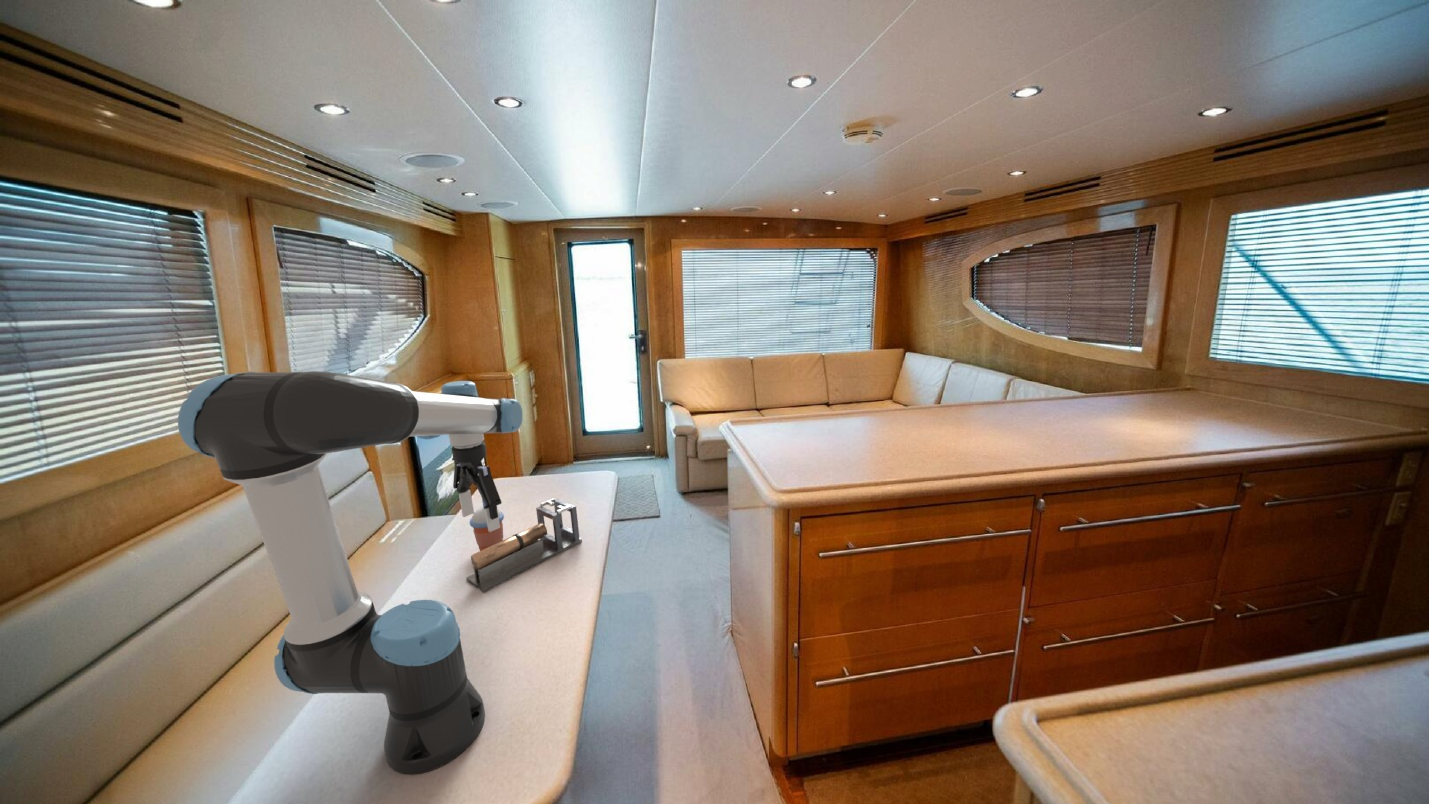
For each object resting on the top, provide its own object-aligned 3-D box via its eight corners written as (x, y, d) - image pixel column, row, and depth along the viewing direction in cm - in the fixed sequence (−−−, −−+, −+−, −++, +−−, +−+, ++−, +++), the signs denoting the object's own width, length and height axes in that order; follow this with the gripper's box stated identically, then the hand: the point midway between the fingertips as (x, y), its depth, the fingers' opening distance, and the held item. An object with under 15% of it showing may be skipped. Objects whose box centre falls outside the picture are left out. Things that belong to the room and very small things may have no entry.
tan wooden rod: (480, 572, 124) (477, 557, 123) (472, 566, 127) (469, 552, 126) (548, 538, 140) (546, 524, 138) (539, 533, 142) (537, 520, 141)
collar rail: (483, 592, 123) (476, 547, 120) (466, 580, 129) (459, 537, 126) (582, 541, 146) (577, 502, 143) (564, 533, 152) (559, 495, 149)
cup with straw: (508, 554, 141) (499, 497, 137) (473, 561, 138) (463, 503, 133) (508, 539, 149) (500, 485, 145) (476, 546, 146) (466, 490, 142)
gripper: (508, 448, 115) (520, 529, 120) (460, 431, 130) (472, 504, 135) (477, 458, 109) (491, 542, 114) (430, 439, 124) (444, 514, 129)
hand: (480, 522), depth 125 cm, fingers open, 13 cm apart
